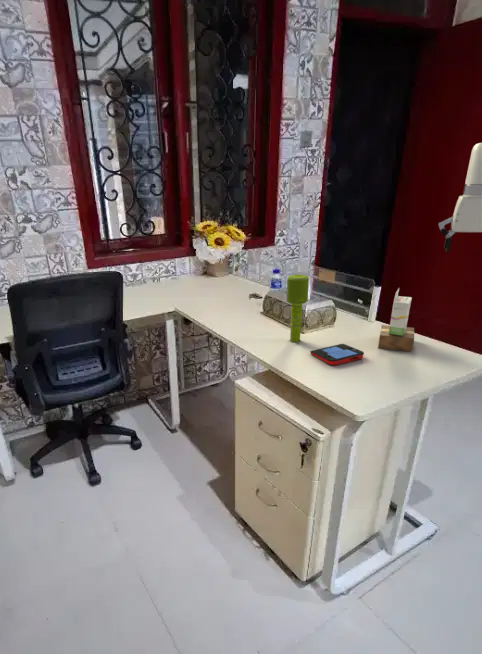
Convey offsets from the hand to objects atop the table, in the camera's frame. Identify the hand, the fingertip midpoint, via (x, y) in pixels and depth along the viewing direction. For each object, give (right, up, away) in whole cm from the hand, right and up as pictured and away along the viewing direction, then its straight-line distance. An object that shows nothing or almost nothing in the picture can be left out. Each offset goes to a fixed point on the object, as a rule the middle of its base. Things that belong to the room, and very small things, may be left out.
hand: (465, 251), depth 127 cm
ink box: (-10, -23, +22) cm, 33 cm away
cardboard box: (-10, -27, +24) cm, 38 cm away
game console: (-33, -32, +18) cm, 49 cm away
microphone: (-45, -25, +33) cm, 61 cm away
